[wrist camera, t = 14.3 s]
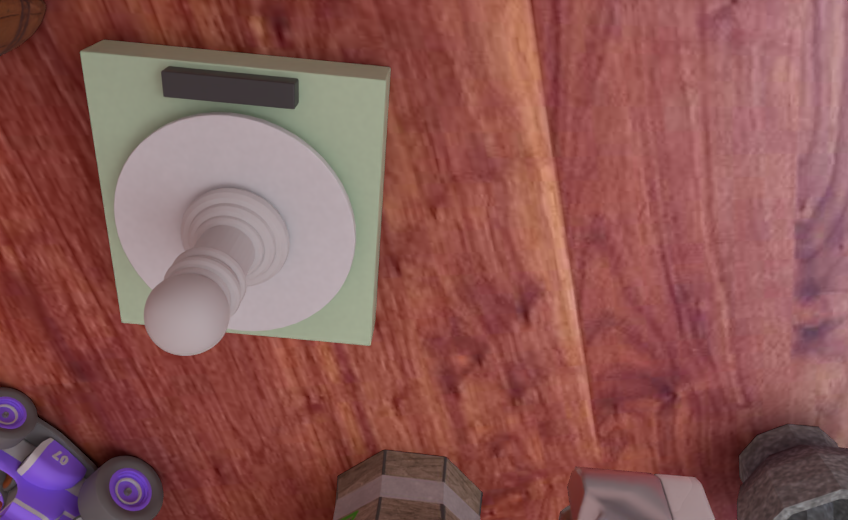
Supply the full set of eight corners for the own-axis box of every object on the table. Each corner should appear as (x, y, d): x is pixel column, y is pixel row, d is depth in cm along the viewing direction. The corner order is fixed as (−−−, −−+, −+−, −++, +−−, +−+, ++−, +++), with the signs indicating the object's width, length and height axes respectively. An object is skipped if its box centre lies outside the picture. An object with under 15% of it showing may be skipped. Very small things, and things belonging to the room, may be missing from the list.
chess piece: (172, 188, 34) (85, 285, 26) (280, 180, 33) (226, 277, 25) (199, 282, 36) (128, 397, 28) (300, 276, 36) (256, 391, 28)
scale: (103, 39, 34) (67, 56, 31) (390, 66, 34) (384, 86, 31) (138, 299, 41) (112, 334, 38) (375, 321, 41) (368, 357, 38)
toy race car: (-21, 350, 44) (-92, 422, 38) (174, 479, 48) (137, 560, 43) (-90, 427, 47) (-165, 504, 41) (99, 540, 52) (55, 623, 46)
